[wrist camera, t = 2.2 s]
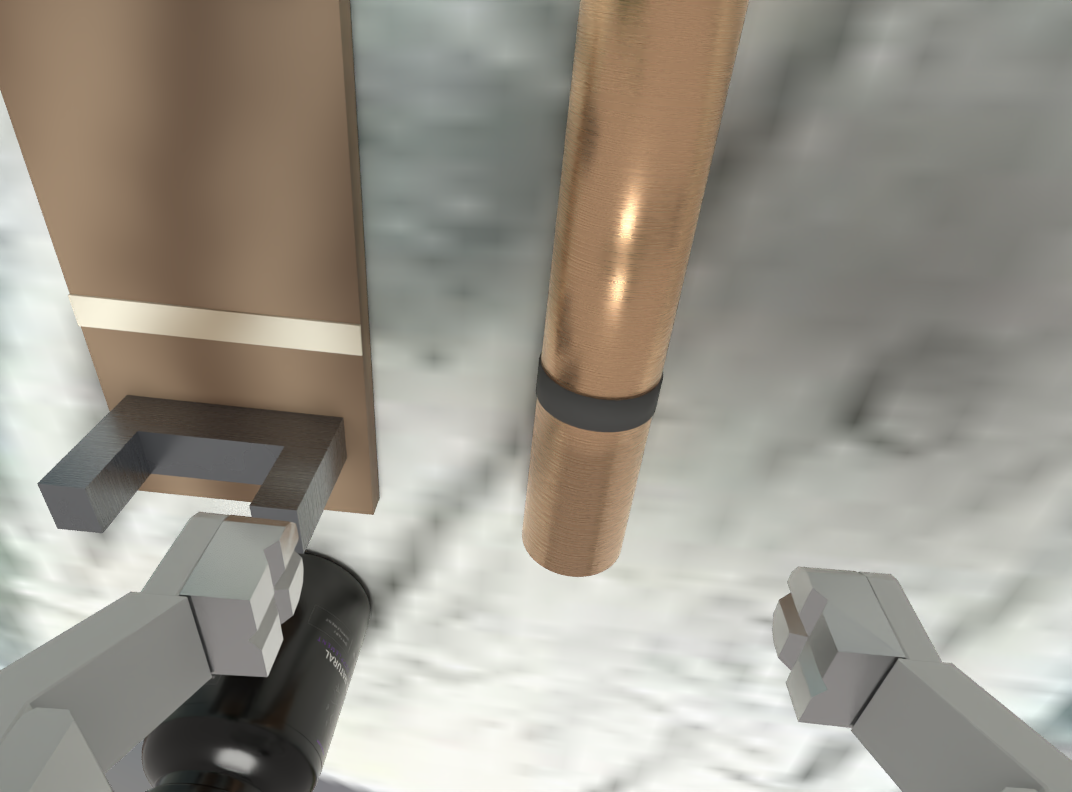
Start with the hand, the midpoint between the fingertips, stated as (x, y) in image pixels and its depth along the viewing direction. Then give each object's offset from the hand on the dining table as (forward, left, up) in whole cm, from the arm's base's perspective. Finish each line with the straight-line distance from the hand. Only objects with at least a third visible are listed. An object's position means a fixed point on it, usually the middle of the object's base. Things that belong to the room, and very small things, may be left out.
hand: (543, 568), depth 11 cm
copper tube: (-1, 0, -13) cm, 13 cm away
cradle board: (+12, 0, -13) cm, 18 cm away
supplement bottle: (+11, +19, -14) cm, 26 cm away
